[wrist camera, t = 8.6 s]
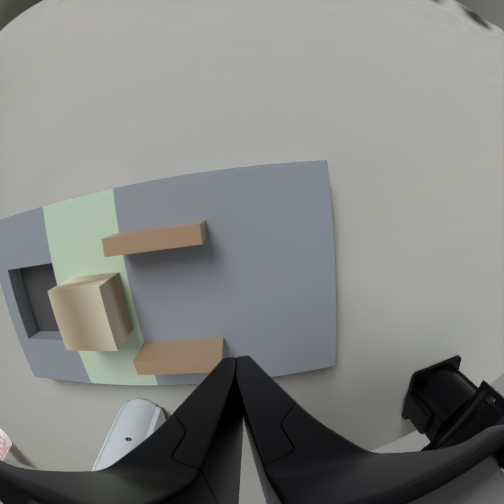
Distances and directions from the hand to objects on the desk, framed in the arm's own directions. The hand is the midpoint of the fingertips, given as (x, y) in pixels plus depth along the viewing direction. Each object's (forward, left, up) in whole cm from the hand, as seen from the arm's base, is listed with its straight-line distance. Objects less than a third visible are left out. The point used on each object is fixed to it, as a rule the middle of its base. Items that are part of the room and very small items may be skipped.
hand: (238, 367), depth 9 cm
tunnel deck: (+7, 0, -11) cm, 13 cm away
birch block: (+9, 0, -9) cm, 13 cm away
